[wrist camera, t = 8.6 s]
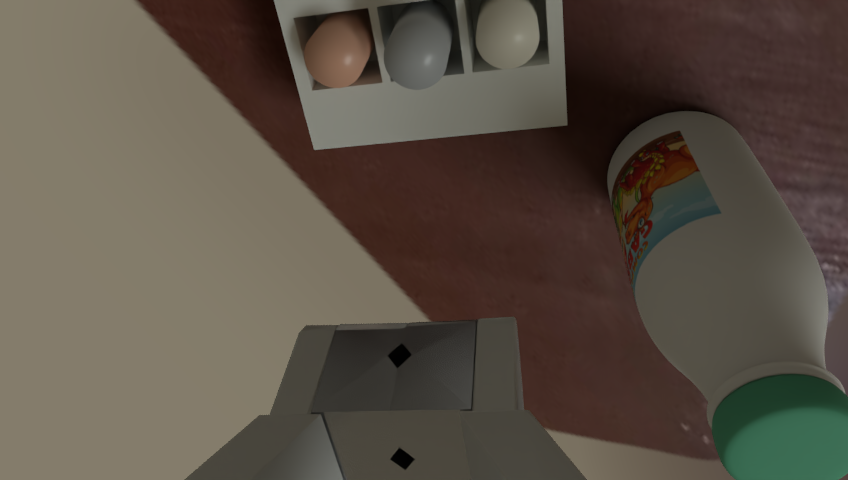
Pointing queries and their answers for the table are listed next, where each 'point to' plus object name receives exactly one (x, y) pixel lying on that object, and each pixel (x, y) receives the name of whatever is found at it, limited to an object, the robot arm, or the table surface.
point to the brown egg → (340, 48)
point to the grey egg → (419, 45)
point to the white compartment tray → (439, 104)
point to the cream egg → (507, 32)
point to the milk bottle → (730, 295)
